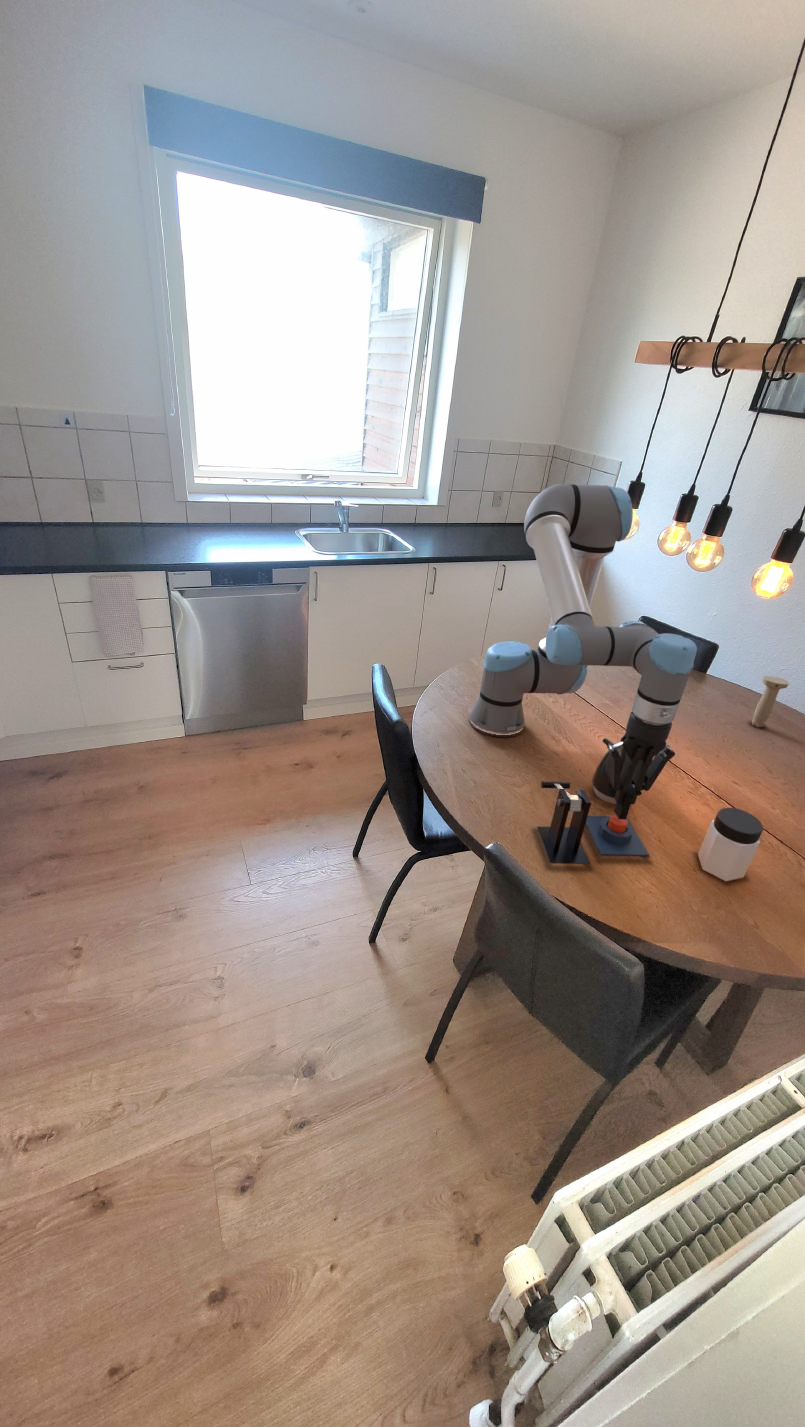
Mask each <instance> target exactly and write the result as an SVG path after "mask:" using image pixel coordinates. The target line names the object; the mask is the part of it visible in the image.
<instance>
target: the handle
mask: <svg viewBox="0 0 805 1427" xmlns="http://www.w3.org/2000/svg"><path fill="white" fill-rule="evenodd" d="M762 683H763V684H764V685H765V689H764V691H763V693H762V695H761V696H760V699H759V700H758V703H757V704H756V707H755V708H754V712H753V716H752V720H751V724H752V726H755V727H756V728H764V726H765V724H766V723H767V721H768V720H769V718H770V717H771V716H770V715H771V713H772V711H773V709H774V706H775V703H776V700H777V697H778V694H779V692H780V690H783V689H787V688H788V687H789V684H790V682H789V681H788V680H786V679H784V678H781V677H777V676H773V675H764V676H763V677H762Z"/></svg>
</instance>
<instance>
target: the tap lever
mask: <svg viewBox="0 0 805 1427" xmlns="http://www.w3.org/2000/svg"><path fill="white" fill-rule="evenodd" d="M540 787H541V789H554V790H555V791H556V792H557V793H558V794H559V790H560V789H565V791H566V793H567V795H568V797H569V799H570V802H571V804H570V808H569V812H574V811H581V804H582V800H581V799H580V798H579V797H578V794H577V795H576V794H570V793H569V791H567V790H569V789H571V782H569V781H545V780H544V781H541V782H540Z"/></svg>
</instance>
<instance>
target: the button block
mask: <svg viewBox="0 0 805 1427" xmlns="http://www.w3.org/2000/svg"><path fill="white" fill-rule="evenodd" d="M611 816H612V815H609V816H607V815H588V817H587V820H586V824H585V827H586V829H587V830H588V832H589V834H590V837H591V839H592V841H593V843H594V845H595V847H596V849H597V851H598V853H599V856H604V857H606V856H607V857H610V856H611V857H650V854H649V852H648V850H647V848H646V847H645V845H644V843H643V841H642V840H641V838H640V837H639V835H638V833H637V832H636V830H635V828H634V827H633V825H632V823H631V822H630V820H629V818H628V816H627V817H626V819H627V821H628V825H627V828H626V831H625V832H624V833H617V832H614V831H612V830H611V829H609V828H608V823H609V820H610V817H611Z"/></svg>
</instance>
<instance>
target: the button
mask: <svg viewBox="0 0 805 1427" xmlns="http://www.w3.org/2000/svg"><path fill="white" fill-rule="evenodd" d="M610 816H611V817H610V820H609V823H608V828H609V829H611V830H612V831H614V832H617V833H624V832H625V831H626V828H627V825H628V821H627V819H618V817H617V815H616V814H612V815H610Z"/></svg>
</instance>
